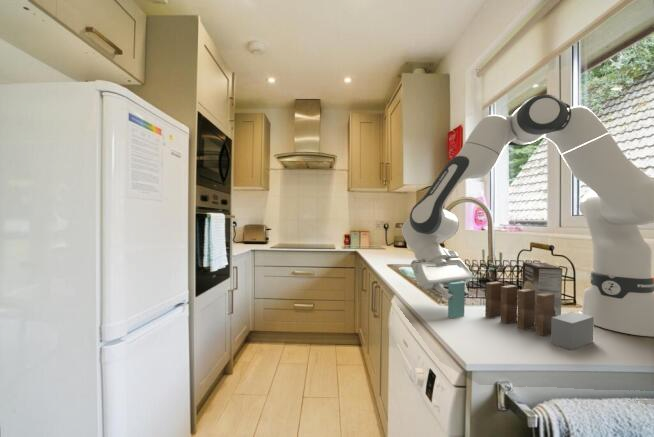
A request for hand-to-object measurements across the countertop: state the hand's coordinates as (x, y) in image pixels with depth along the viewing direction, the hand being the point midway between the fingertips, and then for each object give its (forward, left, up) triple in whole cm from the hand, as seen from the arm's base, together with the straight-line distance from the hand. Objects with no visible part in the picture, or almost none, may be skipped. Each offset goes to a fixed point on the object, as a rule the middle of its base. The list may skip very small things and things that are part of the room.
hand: (458, 297), depth 82 cm
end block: (-10, +23, -6) cm, 26 cm away
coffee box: (-20, +11, -6) cm, 24 cm away
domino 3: (-10, +8, -6) cm, 15 cm away
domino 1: (0, -1, -6) cm, 6 cm away
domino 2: (-10, +4, -6) cm, 13 cm away
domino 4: (-10, +13, -6) cm, 18 cm away
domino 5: (-10, +17, -6) cm, 21 cm away
